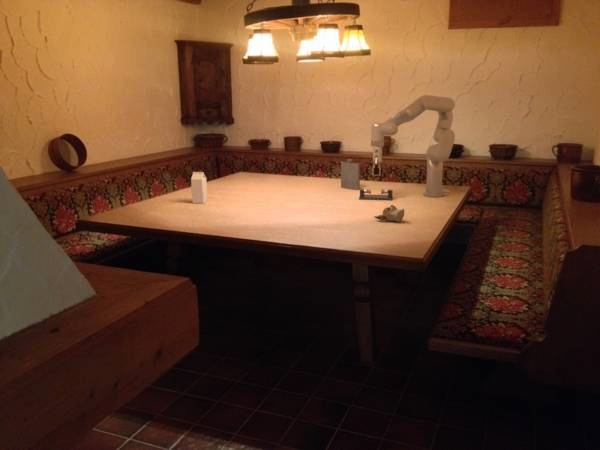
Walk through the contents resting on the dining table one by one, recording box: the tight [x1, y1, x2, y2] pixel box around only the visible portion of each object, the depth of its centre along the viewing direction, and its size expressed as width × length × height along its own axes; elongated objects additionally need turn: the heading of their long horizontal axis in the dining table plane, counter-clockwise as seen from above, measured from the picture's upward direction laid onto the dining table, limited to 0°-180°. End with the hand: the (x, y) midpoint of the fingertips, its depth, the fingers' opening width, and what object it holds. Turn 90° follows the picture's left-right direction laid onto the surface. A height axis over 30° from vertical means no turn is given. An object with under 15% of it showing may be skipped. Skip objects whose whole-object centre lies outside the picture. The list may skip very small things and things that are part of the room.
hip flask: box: [340, 158, 361, 191], centre depth 358 cm, size 16×4×20 cm, turn 43°
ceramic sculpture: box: [374, 204, 405, 223], centre depth 274 cm, size 11×9×15 cm
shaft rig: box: [358, 188, 394, 201], centre depth 327 cm, size 20×9×6 cm, turn 78°
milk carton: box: [190, 171, 209, 205], centre depth 325 cm, size 7×7×19 cm
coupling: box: [372, 164, 381, 176], centre depth 323 cm, size 4×4×7 cm
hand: (376, 173), depth 324 cm, fingers closed on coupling, 4 cm apart
